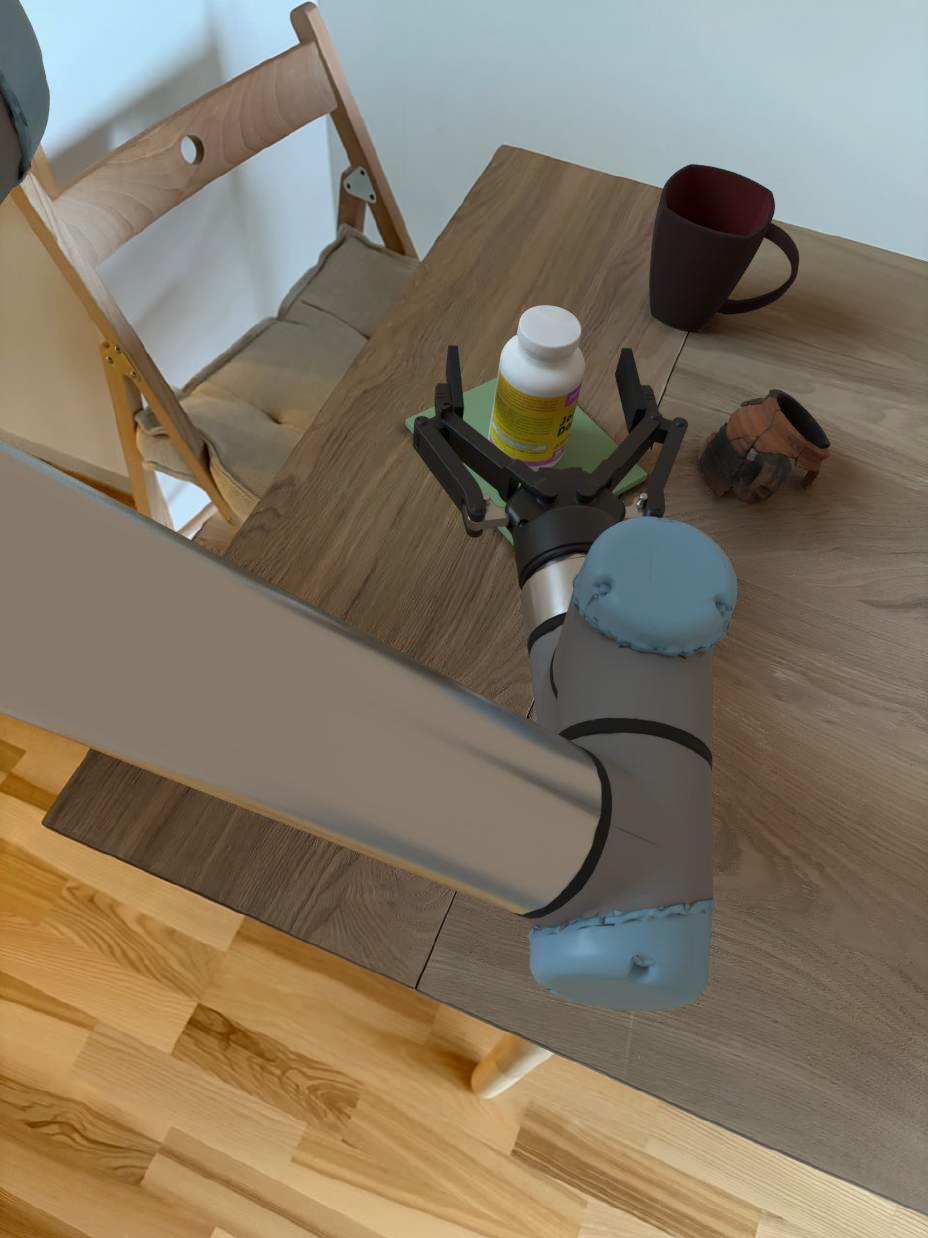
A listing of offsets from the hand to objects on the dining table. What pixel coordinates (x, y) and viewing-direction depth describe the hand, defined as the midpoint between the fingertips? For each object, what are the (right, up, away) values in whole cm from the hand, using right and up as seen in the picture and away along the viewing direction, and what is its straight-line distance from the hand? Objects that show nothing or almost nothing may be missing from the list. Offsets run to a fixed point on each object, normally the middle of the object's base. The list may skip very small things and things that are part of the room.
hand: (538, 359), depth 74 cm
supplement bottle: (-1, -6, +7) cm, 9 cm away
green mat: (-1, -6, +7) cm, 10 cm away
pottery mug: (+19, -8, +8) cm, 22 cm away
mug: (+17, +9, +19) cm, 28 cm away
